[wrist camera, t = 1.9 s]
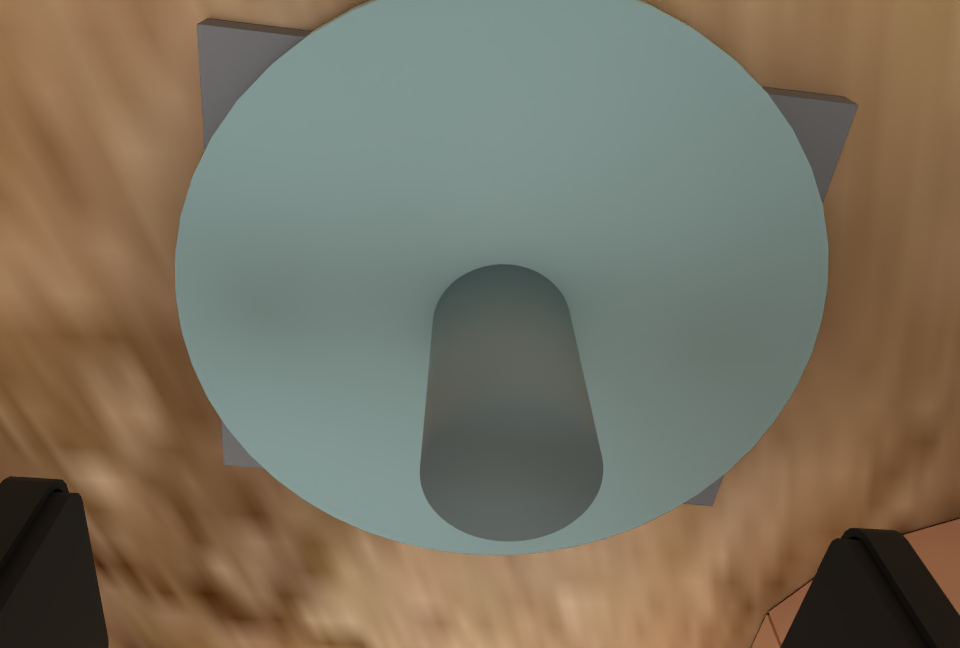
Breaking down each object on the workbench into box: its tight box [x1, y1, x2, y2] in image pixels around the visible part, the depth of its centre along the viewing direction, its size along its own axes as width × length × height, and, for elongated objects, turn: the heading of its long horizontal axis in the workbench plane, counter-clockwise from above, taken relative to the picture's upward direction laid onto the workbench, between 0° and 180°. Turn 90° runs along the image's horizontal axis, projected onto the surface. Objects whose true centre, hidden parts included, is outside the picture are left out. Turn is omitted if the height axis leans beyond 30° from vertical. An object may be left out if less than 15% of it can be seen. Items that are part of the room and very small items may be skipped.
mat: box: [197, 19, 858, 506], centre depth 17 cm, size 12×10×1 cm
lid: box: [175, 0, 829, 555], centre depth 14 cm, size 13×13×5 cm
